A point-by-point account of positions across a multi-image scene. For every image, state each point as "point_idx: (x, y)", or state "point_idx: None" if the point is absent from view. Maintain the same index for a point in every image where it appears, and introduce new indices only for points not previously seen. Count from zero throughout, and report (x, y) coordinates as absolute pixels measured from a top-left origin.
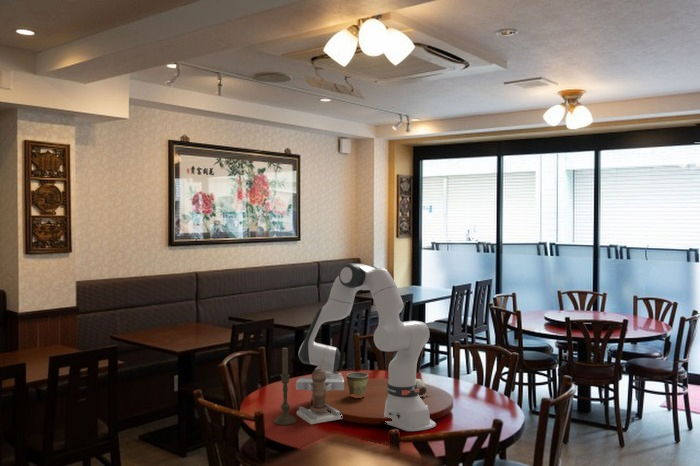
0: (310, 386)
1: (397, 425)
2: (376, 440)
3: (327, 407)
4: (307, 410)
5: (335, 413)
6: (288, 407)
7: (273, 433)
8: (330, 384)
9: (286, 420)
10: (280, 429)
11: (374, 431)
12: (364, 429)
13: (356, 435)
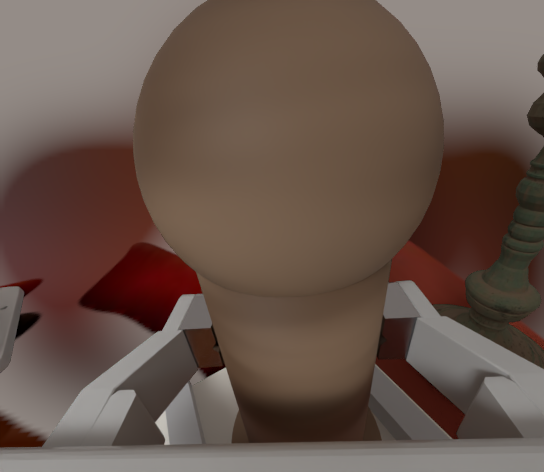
0: (409, 292)
1: (14, 307)
2: (146, 247)
3: (235, 419)
4: (388, 404)
5: (193, 396)
6: (465, 285)
7: (414, 252)
8: (102, 384)
9: (439, 309)
10: (416, 276)
11: (114, 287)
12: (133, 297)
13: (178, 262)
